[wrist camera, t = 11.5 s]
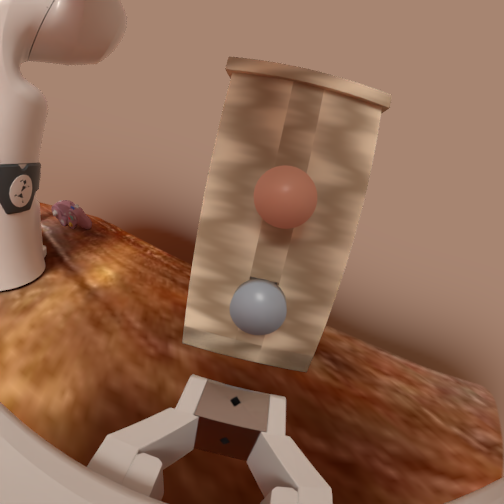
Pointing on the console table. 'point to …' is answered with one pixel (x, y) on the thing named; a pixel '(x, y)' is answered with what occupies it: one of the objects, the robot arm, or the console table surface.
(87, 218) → the video game controller
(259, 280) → the lower key
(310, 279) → the beige tall block
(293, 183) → the reddish round knob
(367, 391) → the console table surface
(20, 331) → the console table surface
